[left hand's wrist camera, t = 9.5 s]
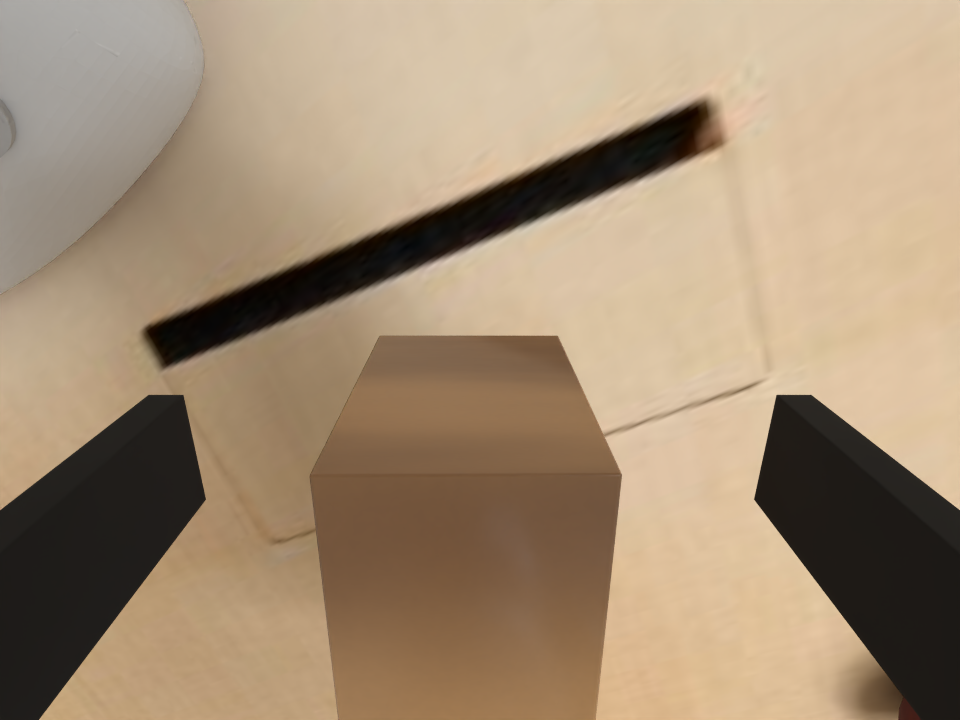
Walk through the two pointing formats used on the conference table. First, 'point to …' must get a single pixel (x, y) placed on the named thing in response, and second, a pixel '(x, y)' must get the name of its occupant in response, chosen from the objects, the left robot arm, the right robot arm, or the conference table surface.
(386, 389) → the bar
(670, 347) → the conference table surface
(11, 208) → the projector
